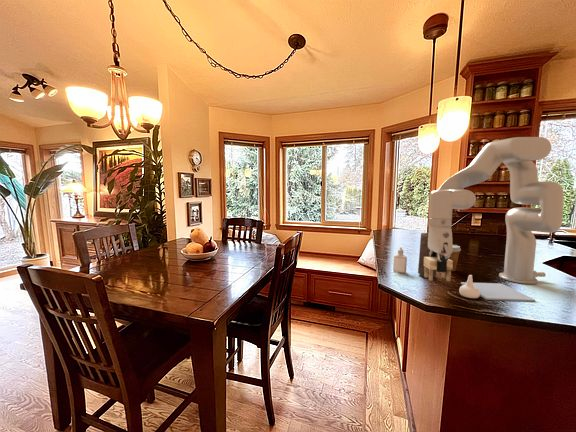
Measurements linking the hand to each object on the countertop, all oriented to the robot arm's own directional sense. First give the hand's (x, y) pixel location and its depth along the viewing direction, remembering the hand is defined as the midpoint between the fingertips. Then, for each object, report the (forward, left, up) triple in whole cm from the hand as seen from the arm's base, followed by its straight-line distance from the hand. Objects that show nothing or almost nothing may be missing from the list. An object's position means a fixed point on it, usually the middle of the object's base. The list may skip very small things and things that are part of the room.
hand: (437, 268), depth 98 cm
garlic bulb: (-10, +4, -9) cm, 14 cm away
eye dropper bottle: (+6, -23, -9) cm, 25 cm away
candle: (-4, -17, -9) cm, 19 cm away
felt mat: (-22, -1, -9) cm, 23 cm away
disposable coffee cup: (-19, -29, -9) cm, 36 cm away
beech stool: (0, 0, -4) cm, 4 cm away
